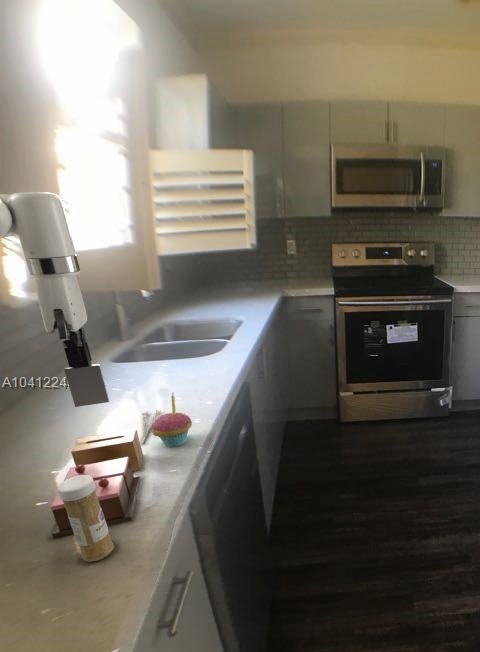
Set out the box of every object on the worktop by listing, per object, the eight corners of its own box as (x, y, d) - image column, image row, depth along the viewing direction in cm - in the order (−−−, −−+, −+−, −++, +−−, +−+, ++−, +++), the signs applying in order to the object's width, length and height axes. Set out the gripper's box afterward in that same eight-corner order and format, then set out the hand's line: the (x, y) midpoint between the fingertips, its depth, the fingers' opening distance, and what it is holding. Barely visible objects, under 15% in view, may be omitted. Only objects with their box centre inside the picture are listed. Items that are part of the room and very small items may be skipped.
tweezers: (143, 415, 122) (141, 408, 121) (162, 412, 123) (160, 406, 122) (132, 450, 107) (130, 443, 106) (154, 446, 108) (153, 439, 107)
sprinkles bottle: (116, 554, 73) (93, 483, 68) (82, 567, 71) (57, 494, 66) (112, 539, 76) (91, 470, 71) (81, 550, 74) (56, 480, 69)
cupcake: (178, 431, 113) (167, 386, 108) (203, 437, 109) (193, 391, 105) (147, 447, 105) (135, 399, 101) (173, 454, 102) (162, 406, 97)
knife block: (80, 481, 93) (70, 451, 90) (87, 466, 98) (78, 438, 96) (140, 470, 96) (132, 441, 94) (143, 456, 102) (136, 428, 99)
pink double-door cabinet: (53, 538, 77) (39, 501, 74) (73, 492, 89) (62, 460, 87) (131, 520, 81) (121, 485, 78) (140, 479, 93) (132, 447, 90)
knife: (74, 408, 90) (53, 339, 85) (76, 405, 91) (56, 337, 86) (108, 403, 92) (90, 335, 87) (110, 400, 93) (92, 333, 88)
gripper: (42, 263, 87) (69, 355, 94) (13, 273, 74) (46, 380, 80) (87, 261, 90) (110, 351, 96) (67, 270, 76) (95, 374, 83)
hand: (81, 363), depth 88 cm, fingers closed on knife, 1 cm apart
